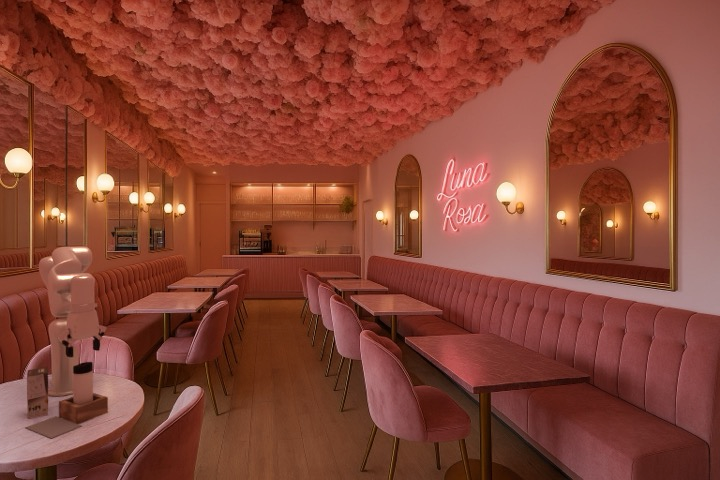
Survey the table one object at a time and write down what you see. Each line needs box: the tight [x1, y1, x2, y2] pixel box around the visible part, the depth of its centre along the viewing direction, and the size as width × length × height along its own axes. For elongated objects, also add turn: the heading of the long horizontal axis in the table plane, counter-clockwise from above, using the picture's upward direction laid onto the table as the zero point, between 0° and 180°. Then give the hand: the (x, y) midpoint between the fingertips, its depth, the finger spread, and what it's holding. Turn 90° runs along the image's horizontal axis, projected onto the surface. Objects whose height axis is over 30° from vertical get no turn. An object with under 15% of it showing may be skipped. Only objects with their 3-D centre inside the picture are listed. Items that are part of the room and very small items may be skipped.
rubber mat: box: [25, 415, 83, 440], centre depth 152 cm, size 16×10×1 cm, turn 64°
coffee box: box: [26, 366, 49, 419], centre depth 163 cm, size 9×6×16 cm
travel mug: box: [72, 361, 94, 405], centre depth 162 cm, size 6×7×20 cm
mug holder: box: [58, 392, 109, 425], centre depth 162 cm, size 12×11×6 cm
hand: (83, 353), depth 161 cm, fingers open, 9 cm apart
